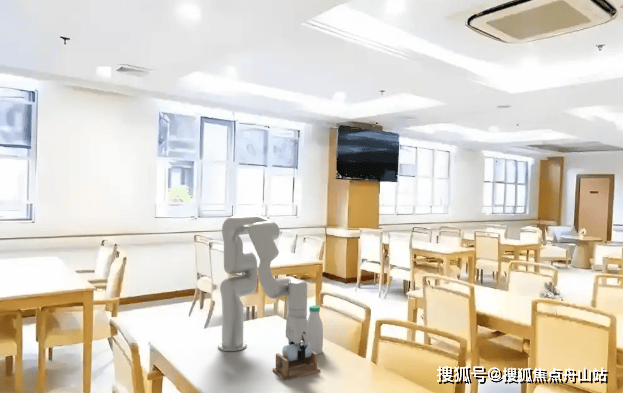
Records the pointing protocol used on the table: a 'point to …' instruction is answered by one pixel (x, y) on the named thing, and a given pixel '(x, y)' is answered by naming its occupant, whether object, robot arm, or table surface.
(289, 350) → the cylinder
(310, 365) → the holder
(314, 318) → the milk bottle
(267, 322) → the table surface
